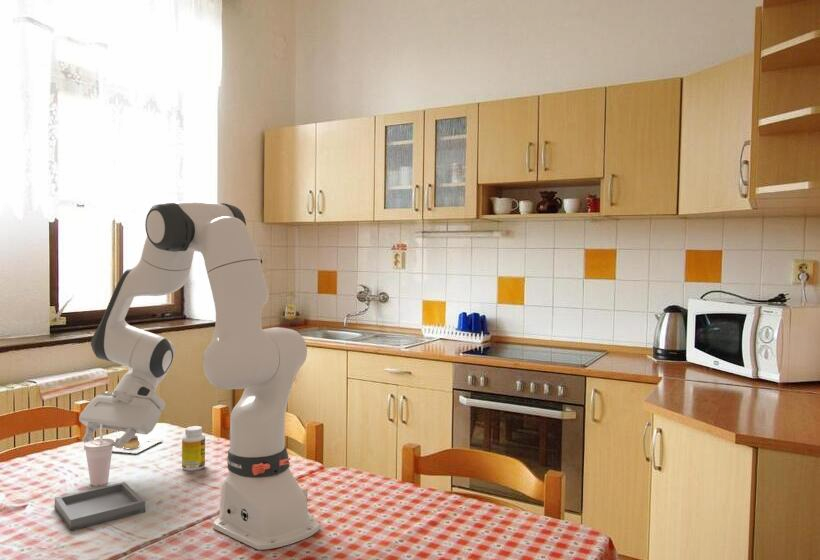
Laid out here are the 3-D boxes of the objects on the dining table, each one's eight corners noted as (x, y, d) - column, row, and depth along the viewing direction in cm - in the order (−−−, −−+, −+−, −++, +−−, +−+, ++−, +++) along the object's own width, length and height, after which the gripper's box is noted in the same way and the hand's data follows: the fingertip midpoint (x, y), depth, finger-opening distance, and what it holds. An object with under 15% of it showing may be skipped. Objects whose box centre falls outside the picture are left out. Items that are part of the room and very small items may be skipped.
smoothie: (101, 489, 137) (101, 429, 136) (77, 486, 138) (77, 427, 137) (120, 479, 143) (120, 421, 142) (97, 476, 144) (96, 419, 144)
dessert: (126, 440, 174) (126, 424, 174) (163, 443, 172) (163, 427, 172) (97, 453, 162) (97, 436, 162) (136, 457, 160) (136, 439, 160)
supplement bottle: (203, 470, 149) (203, 430, 149) (180, 472, 148) (180, 431, 148) (206, 463, 155) (206, 424, 154) (183, 464, 154) (183, 425, 153)
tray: (145, 511, 125) (145, 501, 125) (70, 531, 116) (70, 520, 116) (124, 491, 136) (124, 481, 136) (54, 507, 126) (54, 497, 126)
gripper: (92, 384, 151) (59, 433, 142) (158, 391, 144) (128, 443, 135) (107, 398, 155) (75, 446, 146) (171, 405, 149) (142, 456, 140)
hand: (101, 444), depth 141 cm, fingers open, 8 cm apart
